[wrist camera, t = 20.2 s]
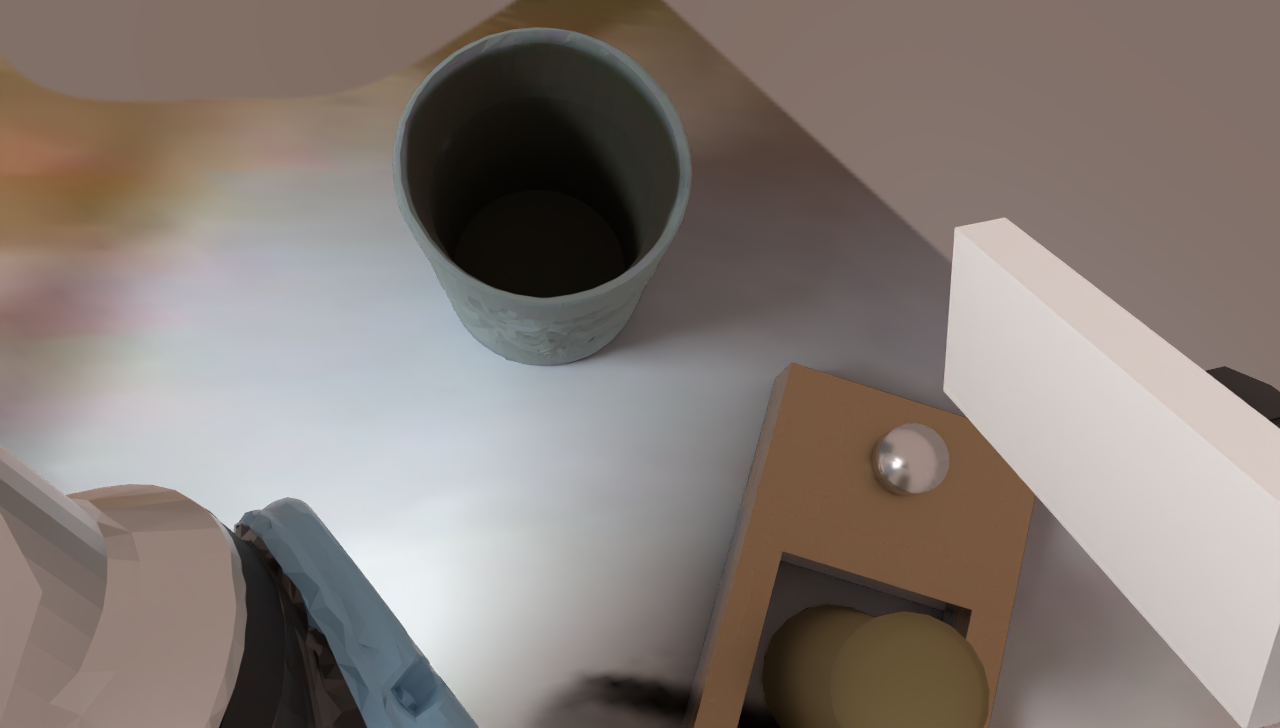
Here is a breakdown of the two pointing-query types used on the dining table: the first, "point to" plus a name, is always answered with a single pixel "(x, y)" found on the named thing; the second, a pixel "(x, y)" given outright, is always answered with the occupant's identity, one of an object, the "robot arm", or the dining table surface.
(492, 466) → the dining table surface
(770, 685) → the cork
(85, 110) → the dining table surface
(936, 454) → the slotted wooden plate
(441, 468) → the dining table surface
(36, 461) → the dining table surface
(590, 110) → the grey green cup
